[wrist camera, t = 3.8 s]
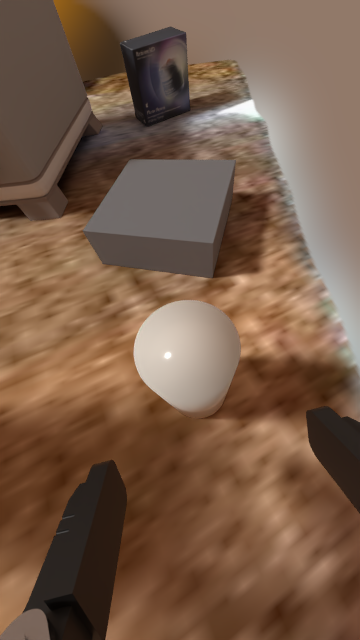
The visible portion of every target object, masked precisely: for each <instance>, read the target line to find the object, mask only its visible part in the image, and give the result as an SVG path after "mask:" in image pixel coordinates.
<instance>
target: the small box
mask: <svg viewBox="0 0 360 640" xmlns="http://www.w3.org/2000/svg"><path fill="white" fill-rule="evenodd" d="M120 46H121V50H122V54H123V58H124V63H125V68H126V72H127V77H128V81H129V86H130V91H131V95H132V100H133V104H134V109H135V116H136V118H138V119H139V120H140V121H141V122H142V123H143V124H144V125H146V126H150V125H152V124H155V123H158V122H160V121H163V120H166V119H168V118H171V117H174V116H176V115H179V114H182V113H185V112H187V111H190V100H189V81H188V63H187V44H186V32H183V31H180V30H178V29H175V28H173V27H168V28H165V29H162V30H159V31H155V32H152V33H149V34H146V35H143V36H140V37H137V38H133V39H130V40H127V41H123V42H121V43H120Z"/></svg>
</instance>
